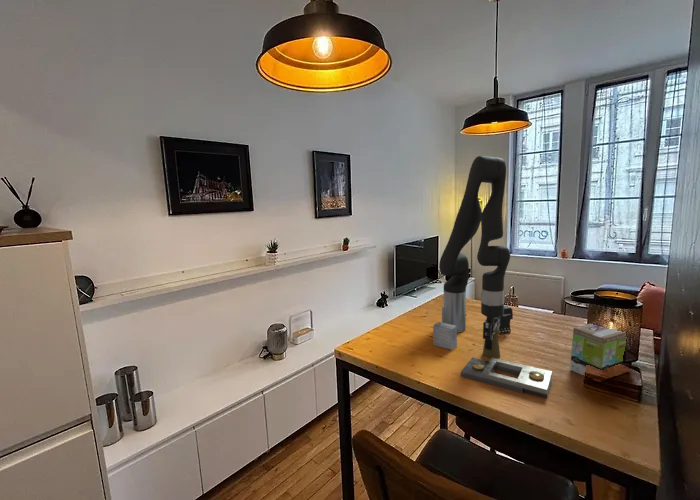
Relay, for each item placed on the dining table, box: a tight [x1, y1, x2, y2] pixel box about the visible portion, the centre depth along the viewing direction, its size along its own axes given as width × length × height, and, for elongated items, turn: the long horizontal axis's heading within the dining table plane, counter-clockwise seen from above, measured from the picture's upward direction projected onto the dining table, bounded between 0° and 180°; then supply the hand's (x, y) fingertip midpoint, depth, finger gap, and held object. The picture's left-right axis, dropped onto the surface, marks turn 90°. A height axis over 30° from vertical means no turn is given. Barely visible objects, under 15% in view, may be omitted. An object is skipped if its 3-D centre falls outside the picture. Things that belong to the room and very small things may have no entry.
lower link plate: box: [460, 356, 524, 394], centre depth 112 cm, size 18×12×2 cm, turn 54°
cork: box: [482, 327, 501, 360], centre depth 125 cm, size 6×6×11 cm
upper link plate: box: [482, 358, 553, 398], centre depth 108 cm, size 18×12×4 cm
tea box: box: [569, 323, 627, 376], centre depth 111 cm, size 15×10×15 cm, turn 114°
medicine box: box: [432, 321, 458, 351], centre depth 135 cm, size 8×4×9 cm, turn 47°
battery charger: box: [499, 305, 514, 335], centre depth 144 cm, size 7×4×11 cm, turn 103°
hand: (491, 344), depth 126 cm, fingers open, 8 cm apart
